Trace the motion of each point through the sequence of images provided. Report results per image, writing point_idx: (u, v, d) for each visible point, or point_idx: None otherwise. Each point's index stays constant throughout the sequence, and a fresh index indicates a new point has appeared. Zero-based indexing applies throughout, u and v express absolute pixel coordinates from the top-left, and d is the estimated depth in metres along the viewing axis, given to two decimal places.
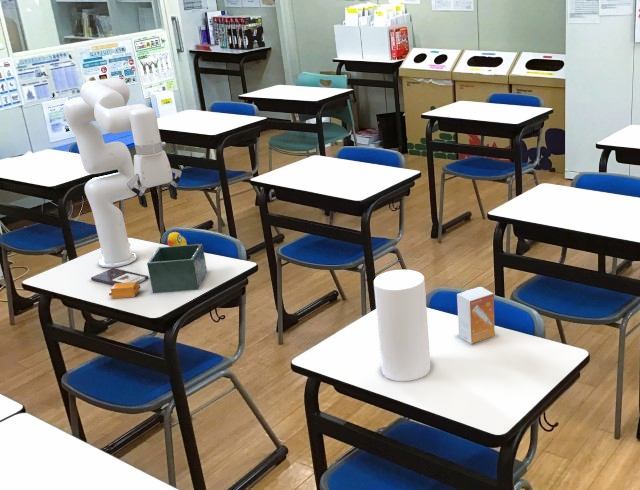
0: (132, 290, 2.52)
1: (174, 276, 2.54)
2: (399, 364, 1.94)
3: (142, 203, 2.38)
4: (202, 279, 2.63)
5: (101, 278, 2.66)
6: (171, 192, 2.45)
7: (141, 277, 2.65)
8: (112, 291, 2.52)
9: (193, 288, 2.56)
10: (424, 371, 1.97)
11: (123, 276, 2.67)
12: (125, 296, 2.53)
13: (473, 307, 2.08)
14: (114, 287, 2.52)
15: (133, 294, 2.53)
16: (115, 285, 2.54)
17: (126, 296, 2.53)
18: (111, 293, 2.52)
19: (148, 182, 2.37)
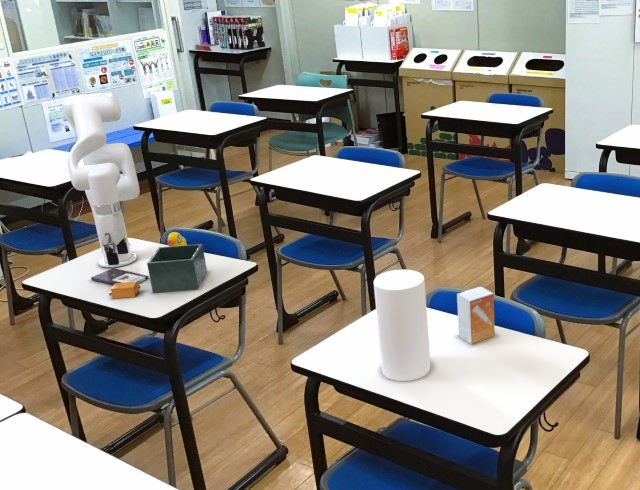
0: (132, 290, 2.52)
1: (174, 276, 2.54)
2: (399, 364, 1.94)
3: (114, 261, 2.45)
4: (202, 279, 2.63)
5: (101, 278, 2.66)
6: (121, 247, 2.54)
7: (141, 277, 2.65)
8: (112, 291, 2.52)
9: (193, 288, 2.56)
10: (424, 371, 1.97)
11: (123, 276, 2.67)
12: (125, 296, 2.53)
13: (473, 307, 2.08)
14: (114, 287, 2.52)
15: (133, 294, 2.53)
16: (115, 285, 2.54)
17: (126, 296, 2.53)
18: (111, 293, 2.52)
19: (118, 239, 2.45)
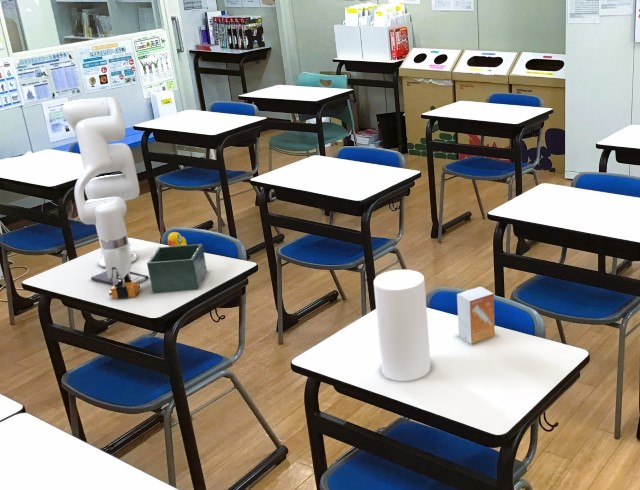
0: (132, 290, 2.52)
1: (174, 276, 2.54)
2: (399, 364, 1.94)
3: (124, 294, 2.51)
4: (202, 279, 2.63)
5: (101, 278, 2.66)
6: None
7: (141, 277, 2.65)
8: (112, 291, 2.52)
9: (193, 288, 2.56)
10: (424, 371, 1.97)
11: None
12: None
13: (473, 307, 2.08)
14: (114, 287, 2.52)
15: (133, 294, 2.53)
16: None
17: None
18: (111, 293, 2.52)
19: (124, 272, 2.49)
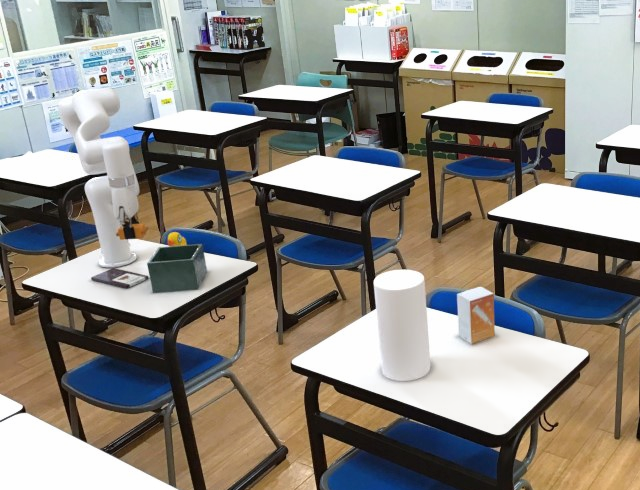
0: (139, 231, 2.48)
1: (174, 276, 2.54)
2: (399, 364, 1.94)
3: (131, 235, 2.47)
4: (202, 279, 2.63)
5: (101, 278, 2.66)
6: None
7: (141, 277, 2.65)
8: (119, 232, 2.48)
9: (193, 288, 2.56)
10: (424, 371, 1.97)
11: (123, 276, 2.67)
12: None
13: (473, 307, 2.08)
14: (121, 228, 2.48)
15: (140, 235, 2.49)
16: None
17: None
18: (118, 234, 2.48)
19: (131, 212, 2.45)
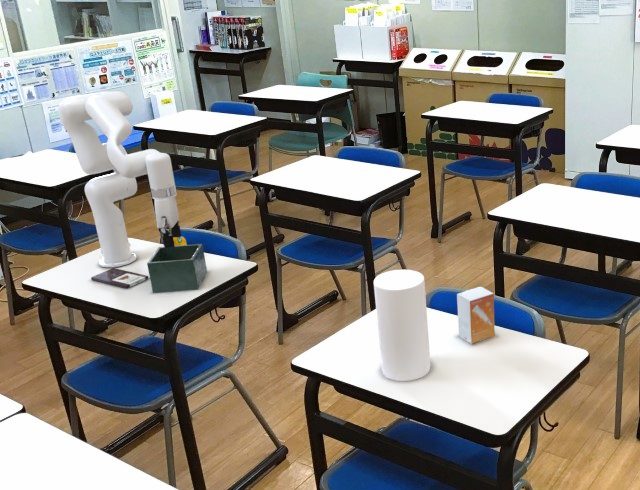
0: None
1: (174, 276, 2.54)
2: (399, 364, 1.94)
3: (170, 243, 2.52)
4: (202, 279, 2.63)
5: (101, 278, 2.66)
6: (174, 231, 2.61)
7: (141, 277, 2.65)
8: None
9: (193, 288, 2.56)
10: (424, 371, 1.97)
11: (123, 276, 2.67)
12: None
13: (473, 307, 2.08)
14: None
15: None
16: None
17: None
18: None
19: (173, 222, 2.52)
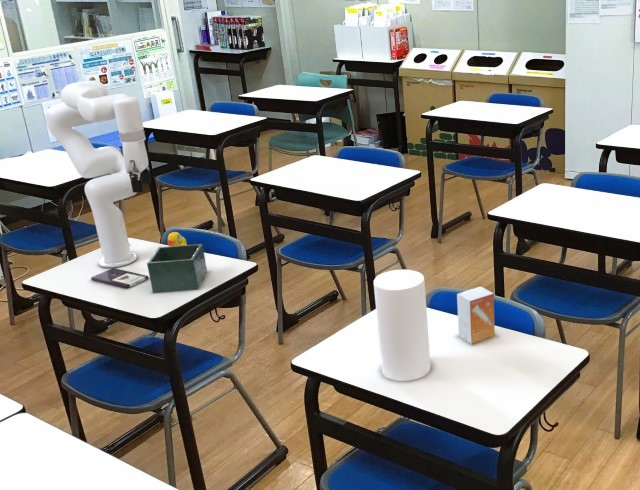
0: None
1: (174, 276, 2.54)
2: (399, 364, 1.94)
3: (139, 188, 2.50)
4: (202, 279, 2.63)
5: (101, 278, 2.66)
6: (144, 177, 2.59)
7: (141, 277, 2.65)
8: None
9: (193, 288, 2.56)
10: (424, 371, 1.97)
11: (123, 276, 2.67)
12: None
13: (473, 307, 2.08)
14: None
15: None
16: None
17: None
18: None
19: (142, 166, 2.50)
